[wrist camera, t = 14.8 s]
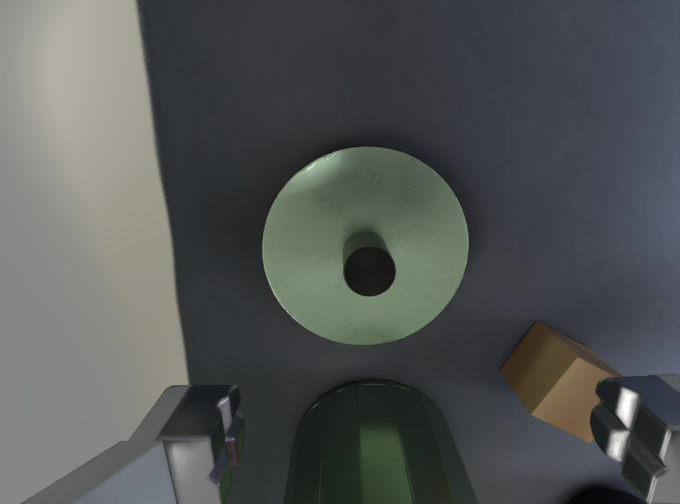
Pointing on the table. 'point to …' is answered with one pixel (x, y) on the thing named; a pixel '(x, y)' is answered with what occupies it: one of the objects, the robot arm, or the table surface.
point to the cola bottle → (607, 498)
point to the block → (556, 379)
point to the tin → (376, 450)
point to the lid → (365, 245)
